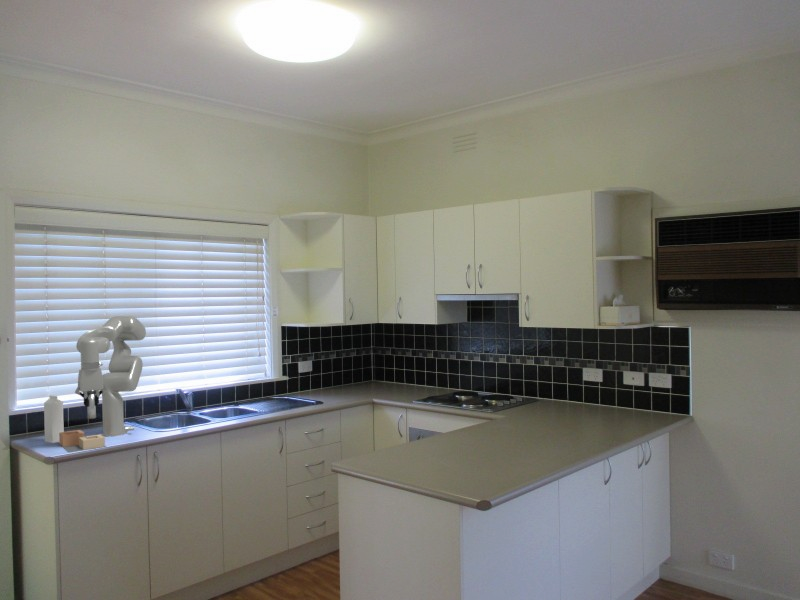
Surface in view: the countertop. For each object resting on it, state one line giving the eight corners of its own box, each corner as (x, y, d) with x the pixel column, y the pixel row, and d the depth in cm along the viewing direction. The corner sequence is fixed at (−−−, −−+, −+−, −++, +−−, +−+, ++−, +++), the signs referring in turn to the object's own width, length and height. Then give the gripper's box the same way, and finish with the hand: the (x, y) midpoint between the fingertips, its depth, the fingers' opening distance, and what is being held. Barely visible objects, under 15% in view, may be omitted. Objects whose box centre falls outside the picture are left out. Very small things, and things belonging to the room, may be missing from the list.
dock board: (94, 440, 319) (94, 427, 318) (106, 449, 300) (106, 435, 299) (57, 445, 309) (57, 432, 309) (68, 455, 290) (67, 441, 290)
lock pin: (95, 416, 305) (94, 388, 304) (98, 417, 301) (97, 389, 301) (85, 417, 302) (84, 389, 302) (87, 419, 298) (86, 390, 298)
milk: (56, 439, 322) (55, 394, 322) (64, 440, 319) (63, 395, 319) (44, 442, 317) (43, 396, 316) (52, 443, 314) (51, 397, 314)
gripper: (107, 363, 309) (108, 402, 309) (68, 367, 299) (69, 407, 299) (111, 365, 303) (112, 405, 303) (72, 368, 293) (73, 409, 293)
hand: (91, 405), depth 301 cm, fingers closed on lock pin, 3 cm apart
